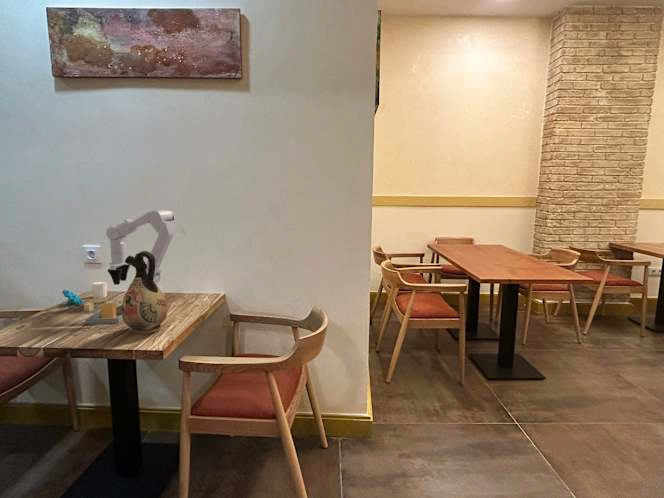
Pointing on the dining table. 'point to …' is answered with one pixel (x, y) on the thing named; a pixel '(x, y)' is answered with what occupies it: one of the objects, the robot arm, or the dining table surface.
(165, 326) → the dining table surface
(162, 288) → the robot arm
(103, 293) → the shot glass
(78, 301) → the gear
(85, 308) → the panel
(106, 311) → the block
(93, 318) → the parts tray
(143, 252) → the ceramic jug
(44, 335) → the dining table surface
